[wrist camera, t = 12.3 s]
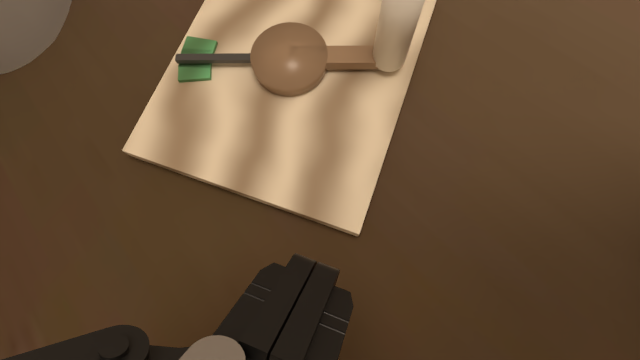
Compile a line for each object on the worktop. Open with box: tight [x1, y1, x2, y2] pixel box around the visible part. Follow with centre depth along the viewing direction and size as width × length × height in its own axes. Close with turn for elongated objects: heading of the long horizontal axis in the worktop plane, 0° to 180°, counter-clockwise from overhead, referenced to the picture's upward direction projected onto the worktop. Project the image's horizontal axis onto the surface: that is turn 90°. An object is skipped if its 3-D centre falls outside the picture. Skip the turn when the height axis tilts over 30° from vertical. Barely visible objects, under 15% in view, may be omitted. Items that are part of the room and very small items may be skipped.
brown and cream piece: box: [175, 0, 425, 96], centre depth 27 cm, size 21×7×11 cm, turn 89°
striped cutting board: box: [122, 0, 436, 237], centre depth 33 cm, size 22×26×2 cm
